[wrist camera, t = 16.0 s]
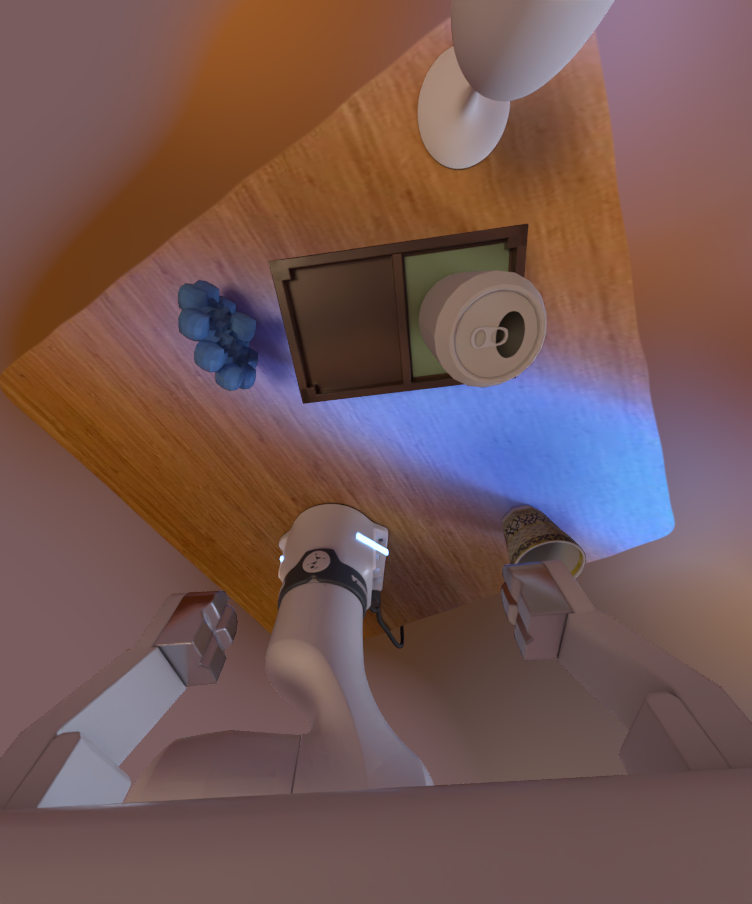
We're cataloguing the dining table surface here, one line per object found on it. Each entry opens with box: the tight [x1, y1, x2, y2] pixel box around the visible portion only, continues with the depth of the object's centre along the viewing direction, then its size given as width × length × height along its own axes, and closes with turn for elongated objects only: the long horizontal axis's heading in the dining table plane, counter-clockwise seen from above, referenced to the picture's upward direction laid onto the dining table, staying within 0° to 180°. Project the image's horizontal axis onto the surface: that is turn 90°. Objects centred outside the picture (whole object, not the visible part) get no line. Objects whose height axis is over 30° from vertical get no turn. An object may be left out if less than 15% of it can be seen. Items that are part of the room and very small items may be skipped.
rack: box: [269, 224, 528, 404], centre depth 35 cm, size 13×22×10 cm, turn 97°
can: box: [418, 270, 547, 387], centre depth 26 cm, size 8×8×12 cm
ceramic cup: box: [502, 505, 586, 579], centre depth 51 cm, size 13×10×10 cm
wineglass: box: [418, 0, 614, 169], centre depth 22 cm, size 9×9×21 cm
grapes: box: [178, 280, 258, 391], centre depth 35 cm, size 12×7×12 cm, turn 22°
